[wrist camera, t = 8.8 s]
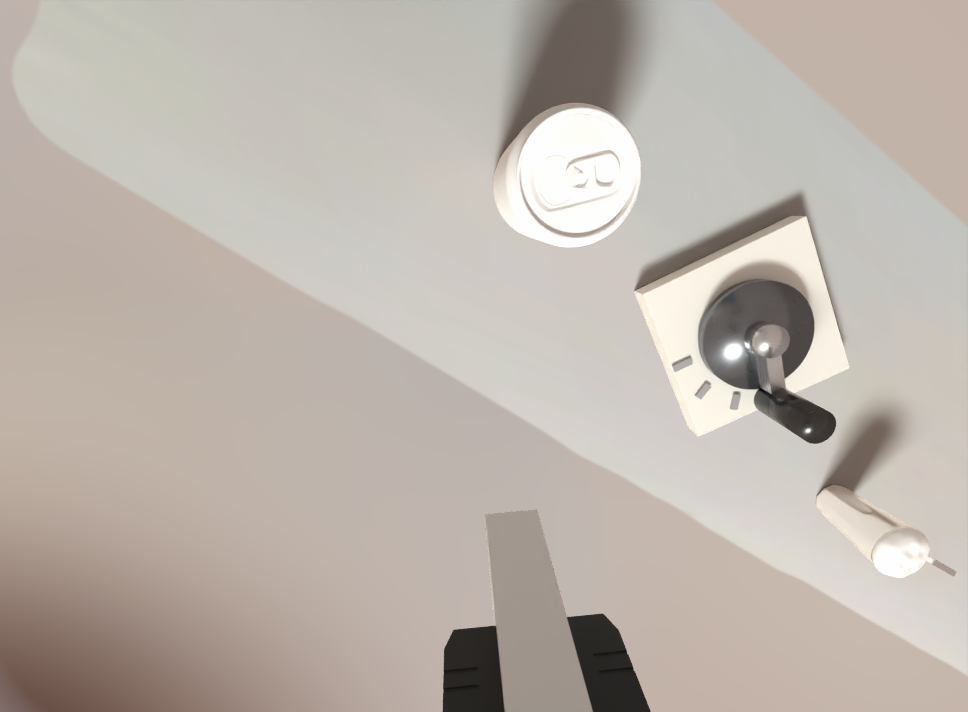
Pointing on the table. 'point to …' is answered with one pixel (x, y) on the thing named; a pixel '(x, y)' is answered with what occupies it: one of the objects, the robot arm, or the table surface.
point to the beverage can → (568, 176)
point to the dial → (764, 350)
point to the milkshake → (877, 533)
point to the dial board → (693, 288)
